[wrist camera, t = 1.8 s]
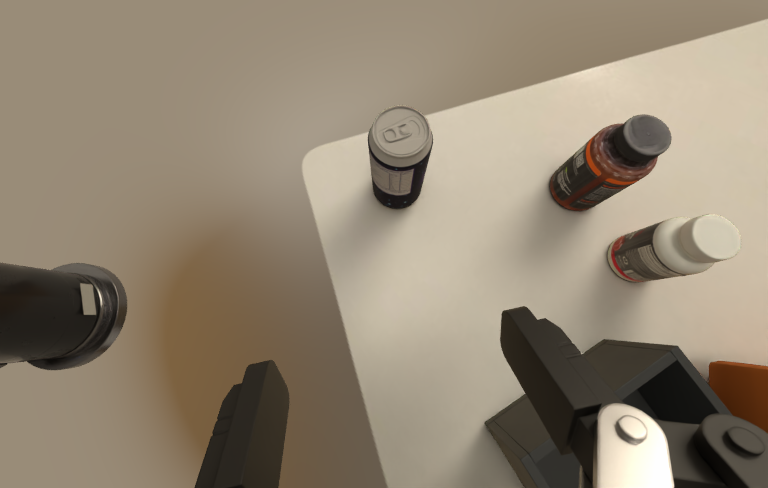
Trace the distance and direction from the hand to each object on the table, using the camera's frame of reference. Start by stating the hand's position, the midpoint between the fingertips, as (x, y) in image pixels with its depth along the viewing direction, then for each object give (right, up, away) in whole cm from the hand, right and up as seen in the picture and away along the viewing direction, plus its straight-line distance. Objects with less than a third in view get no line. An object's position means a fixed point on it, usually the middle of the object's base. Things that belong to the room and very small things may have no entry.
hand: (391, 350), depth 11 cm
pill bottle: (+28, +2, +25) cm, 37 cm away
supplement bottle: (+22, +10, +27) cm, 36 cm away
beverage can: (+1, +10, +27) cm, 29 cm away
